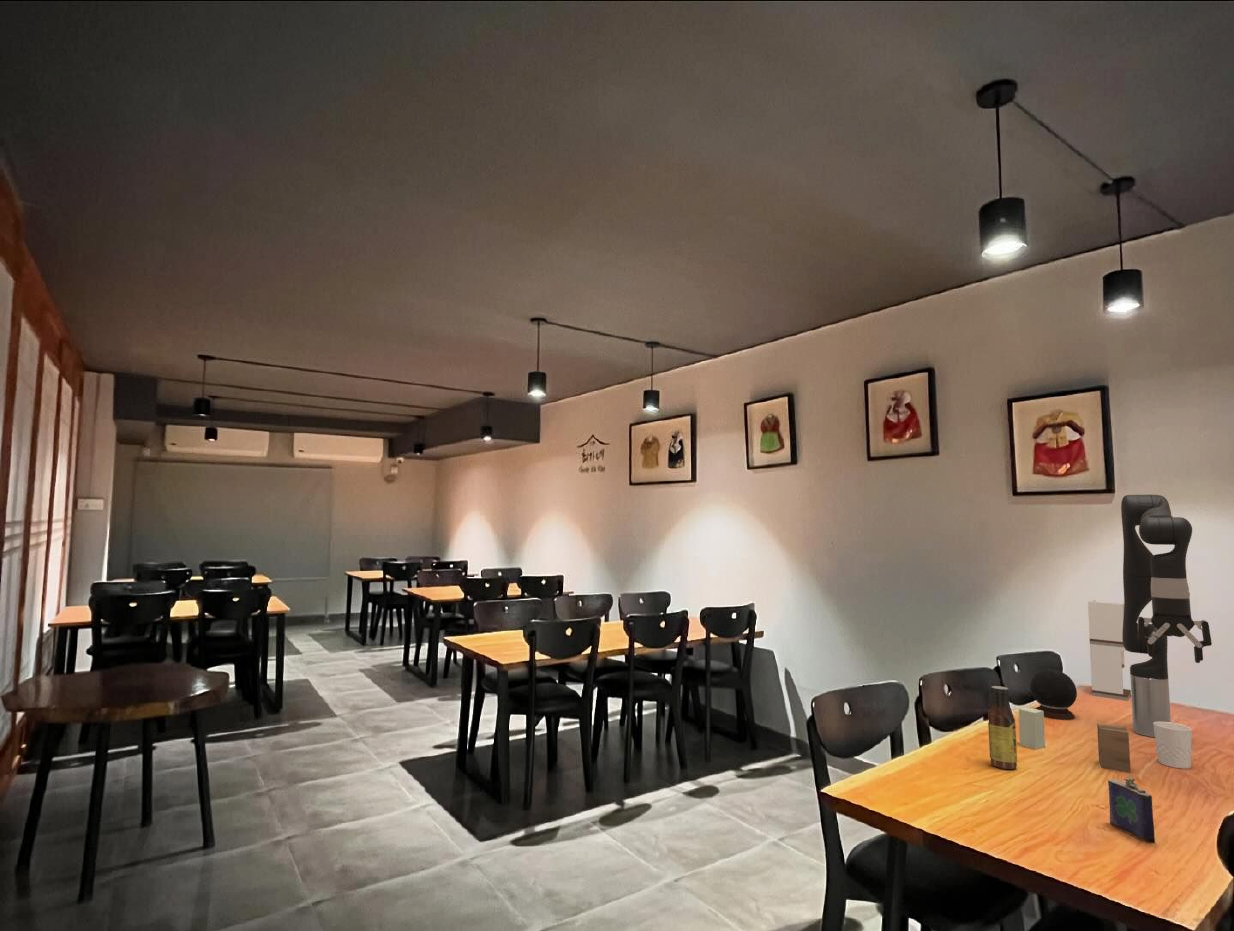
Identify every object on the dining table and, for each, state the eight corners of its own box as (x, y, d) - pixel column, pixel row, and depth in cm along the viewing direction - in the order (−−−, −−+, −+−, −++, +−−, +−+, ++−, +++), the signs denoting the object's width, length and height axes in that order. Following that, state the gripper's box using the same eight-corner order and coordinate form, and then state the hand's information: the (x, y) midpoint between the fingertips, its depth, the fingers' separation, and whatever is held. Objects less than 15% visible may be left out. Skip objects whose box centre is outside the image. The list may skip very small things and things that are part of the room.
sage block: (1019, 744, 190) (1018, 709, 191) (1028, 742, 193) (1027, 707, 194) (1036, 749, 187) (1034, 713, 188) (1045, 747, 189) (1043, 711, 190)
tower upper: (1098, 742, 178) (1097, 723, 179) (1125, 746, 175) (1124, 726, 176) (1100, 748, 173) (1099, 728, 174) (1129, 752, 170) (1128, 732, 170)
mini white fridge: (1127, 700, 244) (1122, 604, 248) (1092, 695, 252) (1087, 601, 255) (1130, 695, 253) (1126, 602, 256) (1096, 690, 260) (1092, 599, 263)
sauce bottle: (1021, 771, 169) (1018, 691, 171) (994, 769, 170) (992, 689, 172) (1011, 763, 175) (1009, 685, 177) (985, 760, 176) (983, 684, 178)
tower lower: (1098, 761, 178) (1098, 742, 178) (1126, 766, 175) (1125, 746, 175) (1101, 768, 173) (1100, 748, 173) (1130, 773, 170) (1129, 752, 170)
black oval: (1071, 723, 214) (1069, 675, 215) (1025, 714, 223) (1024, 668, 225) (1082, 716, 222) (1080, 670, 224) (1037, 707, 232) (1036, 663, 233)
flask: (1106, 822, 140) (1104, 770, 141) (1119, 822, 140) (1116, 769, 141) (1147, 843, 130) (1144, 787, 131) (1160, 843, 131) (1157, 786, 132)
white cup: (1201, 771, 172) (1198, 731, 173) (1166, 768, 173) (1164, 728, 174) (1182, 760, 180) (1179, 722, 180) (1148, 758, 181) (1146, 720, 182)
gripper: (1204, 596, 168) (1209, 661, 167) (1133, 593, 176) (1138, 655, 175) (1209, 598, 162) (1215, 666, 161) (1136, 595, 170) (1140, 660, 169)
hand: (1175, 660), depth 168 cm, fingers open, 8 cm apart
